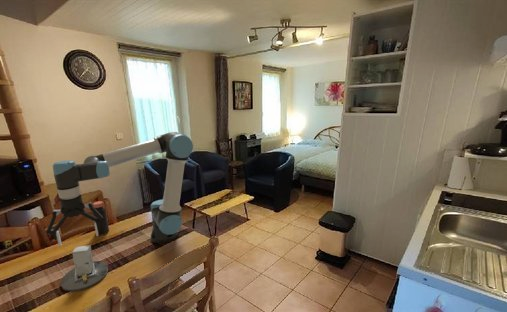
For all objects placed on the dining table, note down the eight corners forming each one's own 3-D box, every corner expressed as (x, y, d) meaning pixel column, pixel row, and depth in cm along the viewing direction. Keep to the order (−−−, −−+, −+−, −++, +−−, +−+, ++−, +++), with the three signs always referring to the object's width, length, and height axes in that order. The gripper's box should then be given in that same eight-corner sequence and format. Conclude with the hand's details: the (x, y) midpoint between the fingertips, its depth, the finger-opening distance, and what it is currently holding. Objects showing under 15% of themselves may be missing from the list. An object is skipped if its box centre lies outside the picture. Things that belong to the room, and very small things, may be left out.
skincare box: (75, 275, 108) (70, 252, 105) (80, 269, 112) (75, 246, 109) (90, 273, 109) (86, 250, 106) (94, 267, 113) (90, 244, 110)
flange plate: (106, 259, 123) (104, 249, 122) (109, 279, 109) (108, 269, 108) (62, 273, 113) (60, 263, 112) (60, 298, 99) (57, 287, 97)
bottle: (100, 236, 144) (95, 206, 140) (93, 233, 147) (88, 203, 142) (111, 230, 150) (106, 201, 146) (104, 228, 153) (100, 199, 148)
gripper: (103, 187, 112) (110, 227, 117) (33, 200, 98) (44, 245, 103) (104, 192, 106) (112, 234, 111) (30, 207, 92) (42, 254, 97)
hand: (79, 239), depth 107 cm, fingers open, 13 cm apart
